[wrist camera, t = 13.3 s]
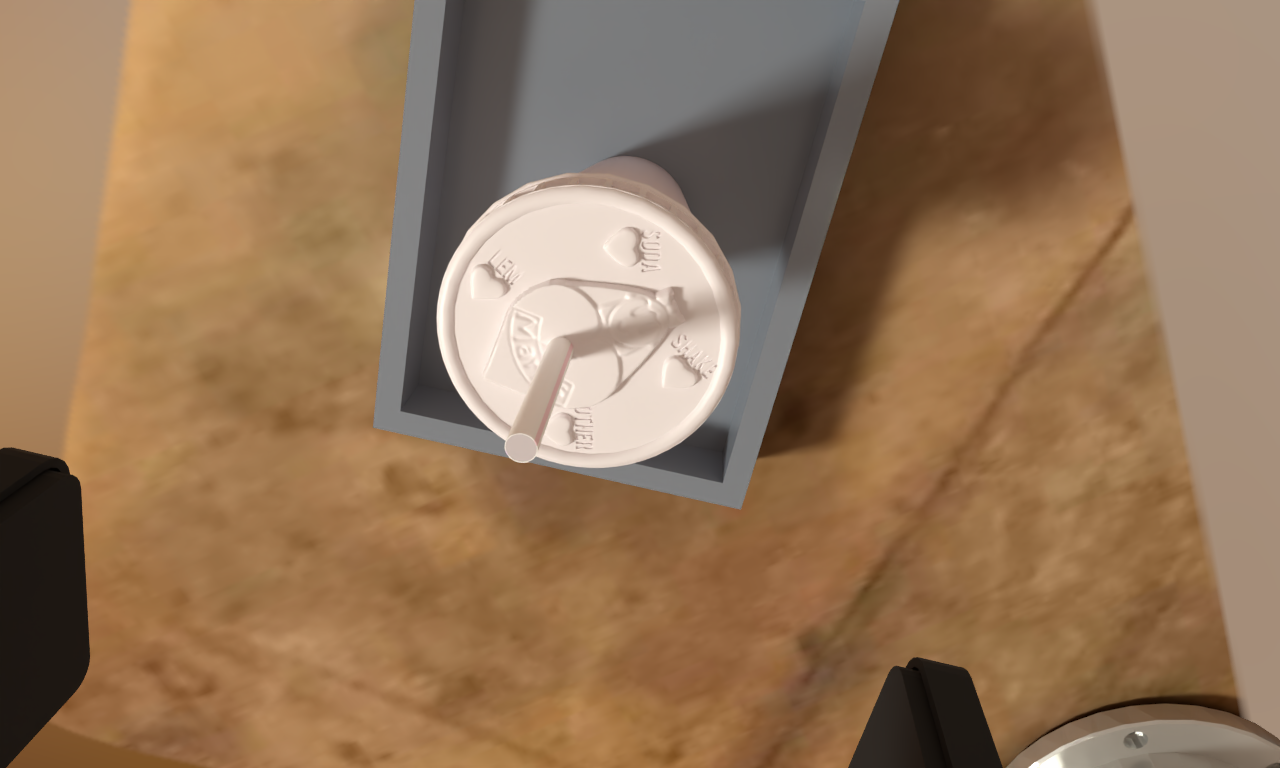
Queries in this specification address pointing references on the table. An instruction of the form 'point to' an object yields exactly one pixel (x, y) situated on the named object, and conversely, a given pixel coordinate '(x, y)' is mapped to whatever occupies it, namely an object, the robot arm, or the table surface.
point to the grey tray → (640, 127)
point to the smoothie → (590, 317)
